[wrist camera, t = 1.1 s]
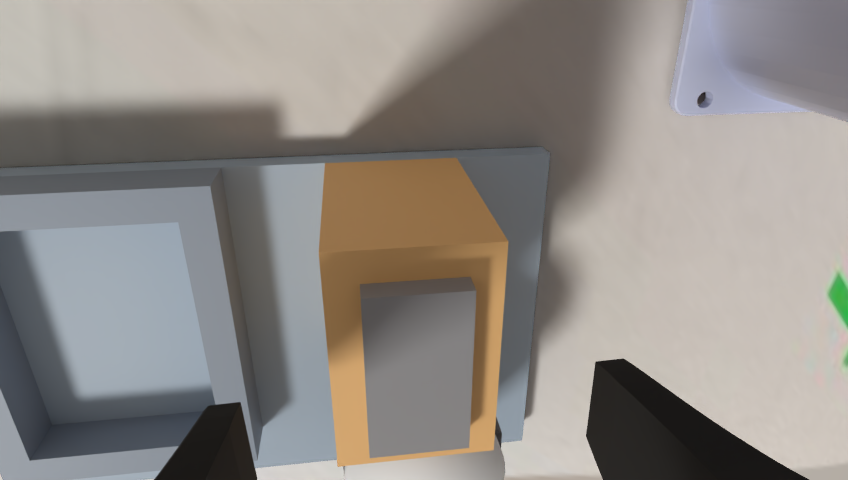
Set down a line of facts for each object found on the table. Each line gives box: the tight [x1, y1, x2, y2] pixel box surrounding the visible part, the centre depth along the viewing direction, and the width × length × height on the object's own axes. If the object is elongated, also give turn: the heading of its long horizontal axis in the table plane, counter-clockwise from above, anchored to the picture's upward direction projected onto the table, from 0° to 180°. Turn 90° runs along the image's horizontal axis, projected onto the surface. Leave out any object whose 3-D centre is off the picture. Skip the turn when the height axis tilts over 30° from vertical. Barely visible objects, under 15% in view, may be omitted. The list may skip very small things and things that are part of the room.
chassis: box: [0, 147, 550, 480], centre depth 19 cm, size 18×12×3 cm, turn 90°
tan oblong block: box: [319, 158, 509, 467], centre depth 16 cm, size 4×6×7 cm, turn 0°
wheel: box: [344, 417, 505, 480], centre depth 19 cm, size 5×5×3 cm
